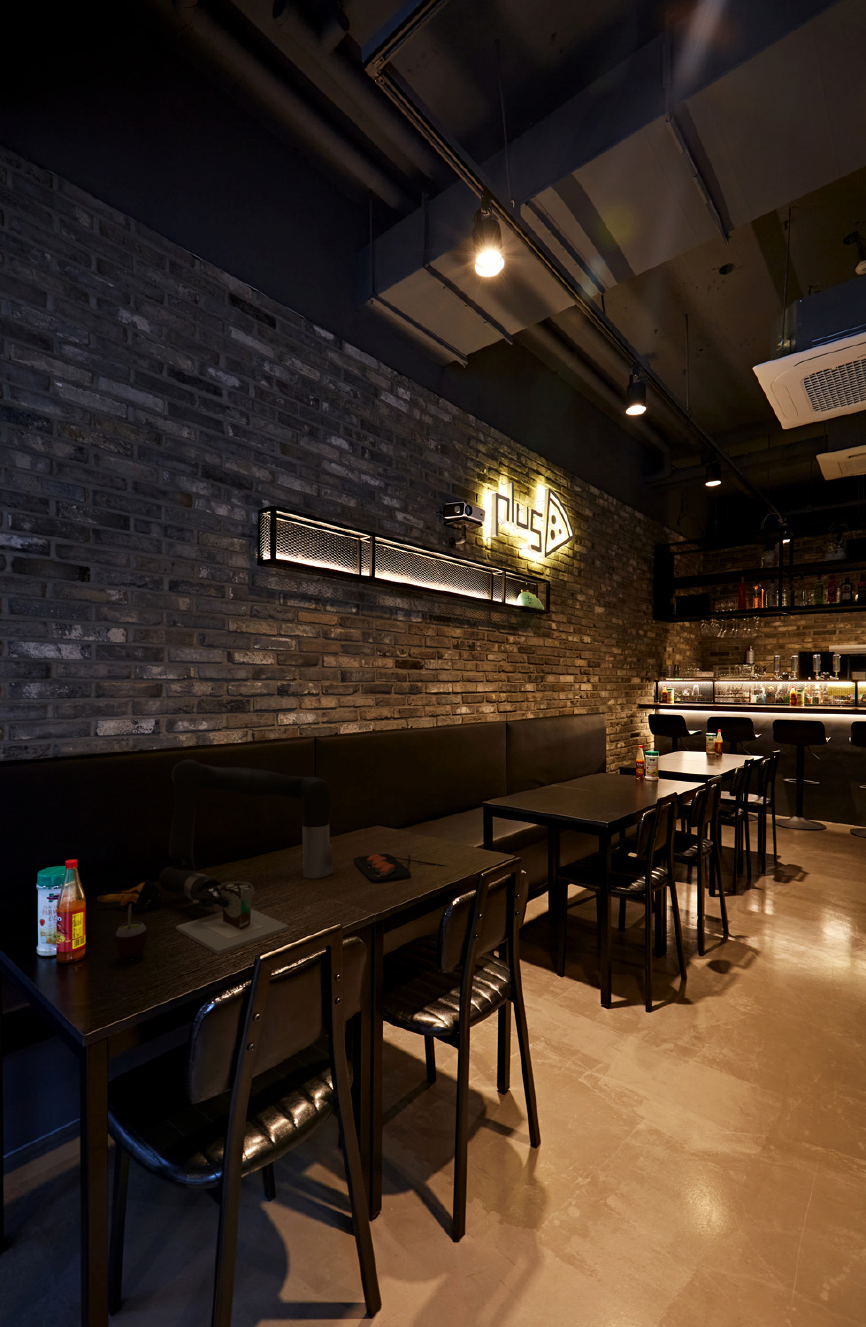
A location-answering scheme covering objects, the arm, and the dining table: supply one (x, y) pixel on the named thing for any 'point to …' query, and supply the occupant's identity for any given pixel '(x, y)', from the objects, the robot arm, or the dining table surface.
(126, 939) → the mate gourd
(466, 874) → the dining table surface
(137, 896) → the fried shrimp in bowl
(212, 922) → the dock
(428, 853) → the dining table surface
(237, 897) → the food container
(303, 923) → the dining table surface
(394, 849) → the dining table surface
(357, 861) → the sushi plate
